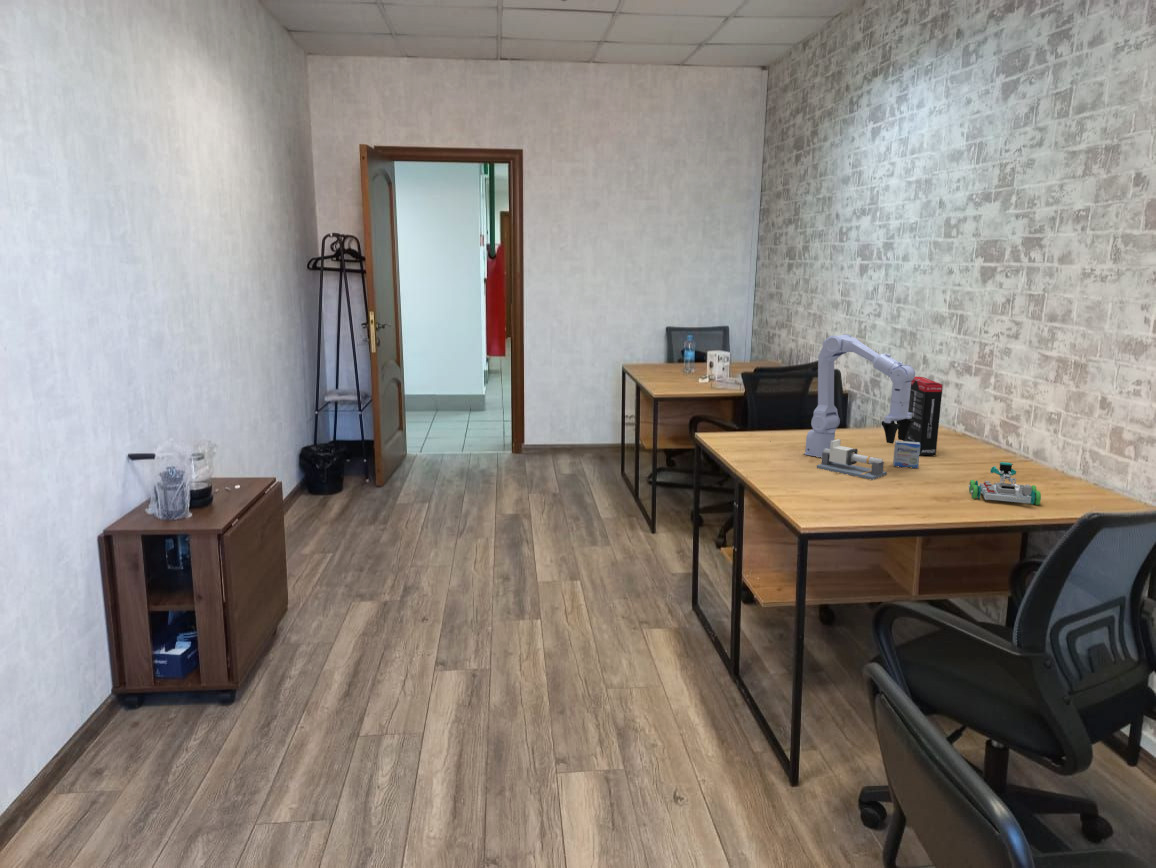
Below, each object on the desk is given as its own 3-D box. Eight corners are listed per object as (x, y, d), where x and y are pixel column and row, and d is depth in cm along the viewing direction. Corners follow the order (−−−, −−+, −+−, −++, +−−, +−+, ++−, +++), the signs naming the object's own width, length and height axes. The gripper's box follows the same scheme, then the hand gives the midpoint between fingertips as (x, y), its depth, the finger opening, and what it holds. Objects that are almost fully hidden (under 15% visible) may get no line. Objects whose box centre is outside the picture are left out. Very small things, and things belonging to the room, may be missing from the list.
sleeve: (829, 461, 269) (830, 441, 268) (836, 458, 273) (838, 439, 271) (845, 464, 265) (847, 444, 264) (852, 462, 268) (854, 442, 267)
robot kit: (1027, 487, 251) (1031, 459, 249) (1043, 510, 228) (1047, 478, 226) (962, 481, 257) (965, 453, 255) (972, 503, 234) (975, 472, 232)
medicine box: (893, 467, 273) (896, 442, 272) (892, 464, 278) (895, 439, 276) (918, 469, 271) (920, 444, 269) (916, 465, 275) (919, 441, 274)
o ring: (846, 465, 265) (847, 450, 264) (854, 462, 268) (855, 448, 267) (849, 466, 264) (850, 450, 263) (856, 463, 268) (858, 448, 266)
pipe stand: (816, 468, 270) (818, 450, 269) (831, 463, 277) (833, 445, 276) (872, 480, 256) (874, 461, 255) (886, 474, 263) (888, 456, 262)
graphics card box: (937, 457, 288) (945, 383, 283) (917, 456, 289) (925, 382, 283) (918, 446, 305) (925, 376, 299) (900, 446, 305) (907, 375, 300)
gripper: (900, 405, 256) (895, 446, 259) (922, 401, 265) (918, 440, 268) (879, 402, 261) (876, 442, 264) (902, 398, 271) (898, 437, 273)
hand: (895, 441), depth 267 cm, fingers open, 7 cm apart
